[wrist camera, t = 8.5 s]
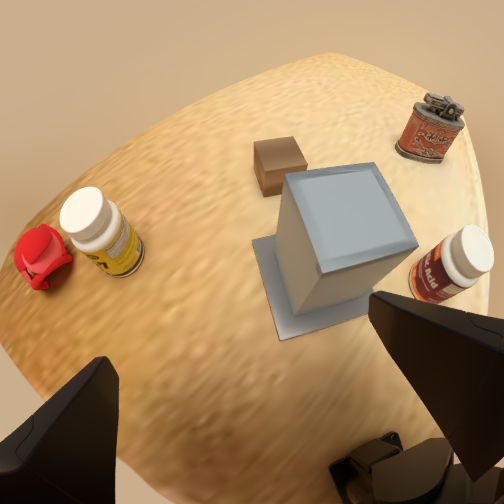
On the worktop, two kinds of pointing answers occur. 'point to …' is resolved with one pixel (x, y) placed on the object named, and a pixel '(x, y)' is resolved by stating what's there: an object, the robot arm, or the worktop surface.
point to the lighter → (431, 129)
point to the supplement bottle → (101, 232)
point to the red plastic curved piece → (40, 255)
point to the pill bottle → (452, 265)
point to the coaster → (280, 303)
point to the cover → (338, 235)
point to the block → (276, 163)
